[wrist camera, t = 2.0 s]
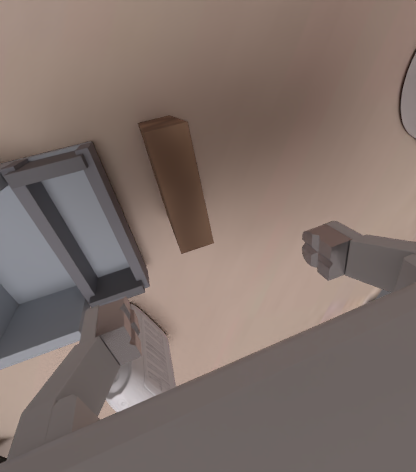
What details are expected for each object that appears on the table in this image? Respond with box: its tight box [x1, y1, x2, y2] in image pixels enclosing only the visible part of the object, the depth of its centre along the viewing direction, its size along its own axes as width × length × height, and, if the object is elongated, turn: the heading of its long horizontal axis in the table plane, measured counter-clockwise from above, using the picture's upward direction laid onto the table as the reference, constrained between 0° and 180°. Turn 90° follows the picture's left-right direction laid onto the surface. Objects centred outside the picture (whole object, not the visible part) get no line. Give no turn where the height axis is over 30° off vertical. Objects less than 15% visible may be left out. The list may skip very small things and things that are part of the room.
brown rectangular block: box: [138, 116, 214, 254], centre depth 22 cm, size 3×10×8 cm, turn 11°
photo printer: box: [106, 304, 176, 412], centre depth 29 cm, size 10×4×12 cm, turn 27°
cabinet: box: [0, 141, 150, 370], centre depth 21 cm, size 15×15×8 cm
